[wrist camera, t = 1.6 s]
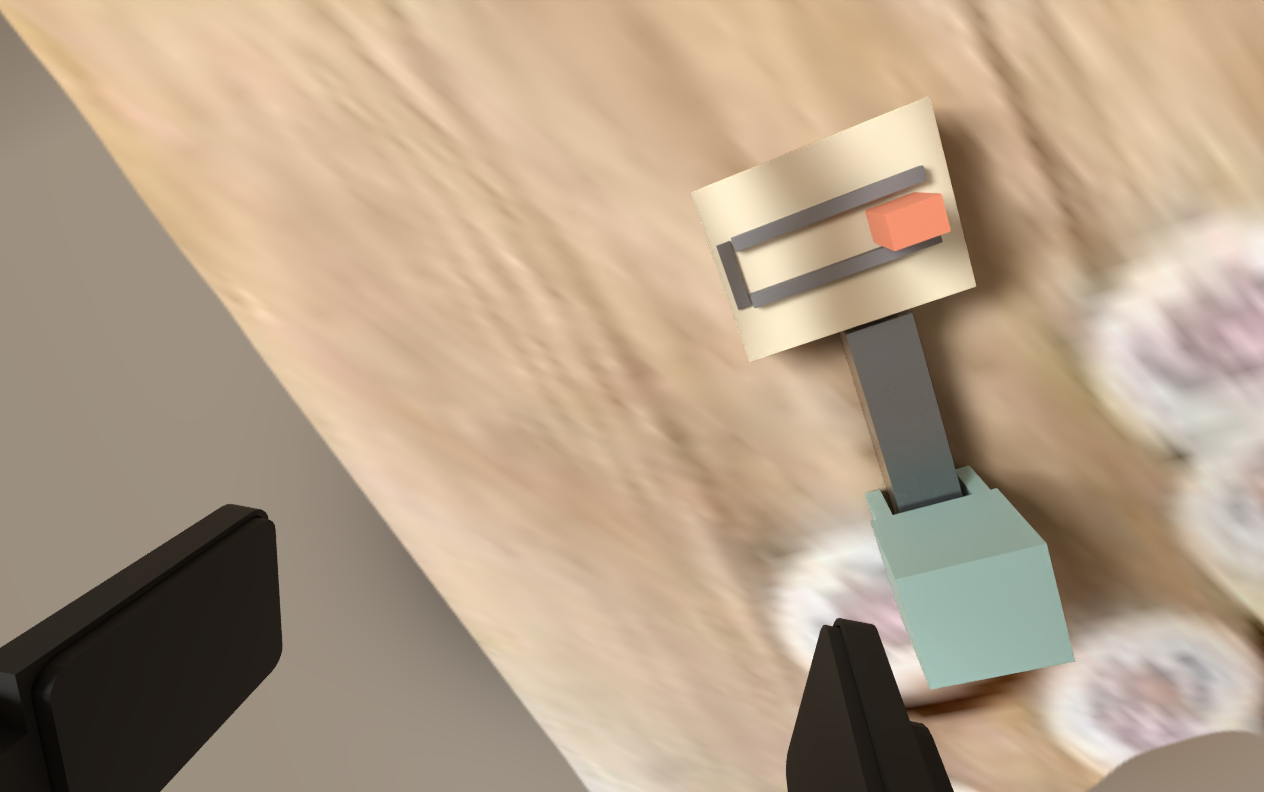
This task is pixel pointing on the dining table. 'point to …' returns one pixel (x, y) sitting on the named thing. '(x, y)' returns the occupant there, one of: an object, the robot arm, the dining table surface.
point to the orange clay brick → (908, 220)
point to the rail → (901, 411)
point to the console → (831, 233)
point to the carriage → (972, 585)
